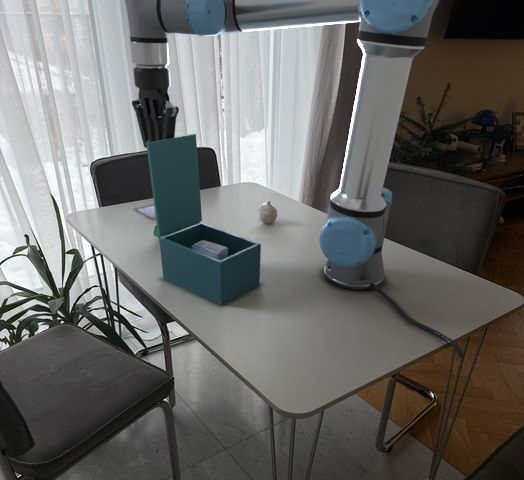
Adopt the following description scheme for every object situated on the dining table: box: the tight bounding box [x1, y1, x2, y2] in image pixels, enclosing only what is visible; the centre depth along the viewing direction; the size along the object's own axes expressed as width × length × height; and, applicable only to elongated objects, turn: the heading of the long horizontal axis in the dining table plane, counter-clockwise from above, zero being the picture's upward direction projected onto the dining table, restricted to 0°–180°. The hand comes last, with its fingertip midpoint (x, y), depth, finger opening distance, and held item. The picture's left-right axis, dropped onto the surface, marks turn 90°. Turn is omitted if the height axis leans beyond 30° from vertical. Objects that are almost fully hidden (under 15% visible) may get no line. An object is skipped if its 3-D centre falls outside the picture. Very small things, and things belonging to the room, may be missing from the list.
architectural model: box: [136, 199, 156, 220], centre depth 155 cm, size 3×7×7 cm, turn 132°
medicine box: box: [192, 240, 228, 261], centre depth 114 cm, size 8×4×9 cm, turn 57°
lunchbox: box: [158, 222, 262, 307], centre depth 114 cm, size 20×14×11 cm
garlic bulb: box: [257, 200, 278, 225], centre depth 149 cm, size 7×6×8 cm
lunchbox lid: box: [146, 133, 203, 236], centre depth 110 cm, size 20×14×1 cm
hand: (161, 181), depth 112 cm, fingers closed
